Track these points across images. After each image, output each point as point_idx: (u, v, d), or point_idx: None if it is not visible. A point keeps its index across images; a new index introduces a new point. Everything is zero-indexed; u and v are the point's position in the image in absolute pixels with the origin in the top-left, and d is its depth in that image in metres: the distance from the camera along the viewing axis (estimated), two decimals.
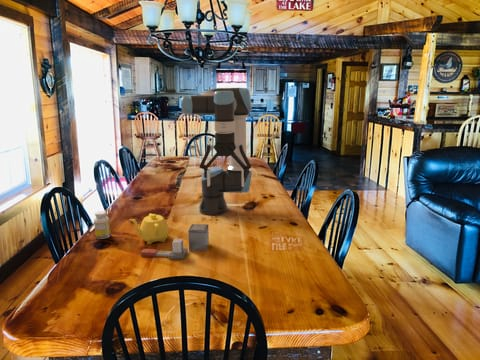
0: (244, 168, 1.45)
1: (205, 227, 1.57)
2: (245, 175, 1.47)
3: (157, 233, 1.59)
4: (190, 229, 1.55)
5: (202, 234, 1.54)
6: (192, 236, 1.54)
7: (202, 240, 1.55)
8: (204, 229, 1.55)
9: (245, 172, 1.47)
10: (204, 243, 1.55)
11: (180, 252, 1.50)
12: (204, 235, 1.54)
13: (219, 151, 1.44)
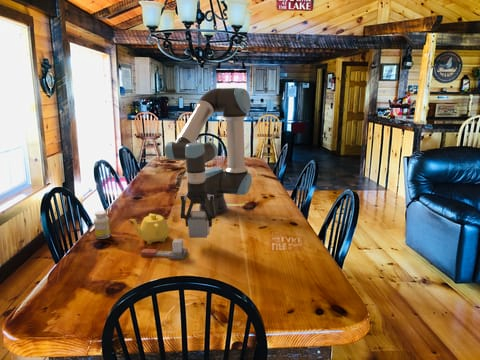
0: (209, 218, 1.55)
1: (205, 214, 1.56)
2: (210, 224, 1.56)
3: (157, 233, 1.59)
4: (190, 216, 1.54)
5: (202, 221, 1.53)
6: (192, 223, 1.54)
7: (202, 227, 1.54)
8: (204, 216, 1.54)
9: (210, 222, 1.56)
10: (204, 230, 1.54)
11: (180, 252, 1.50)
12: (204, 222, 1.53)
13: (192, 200, 1.52)
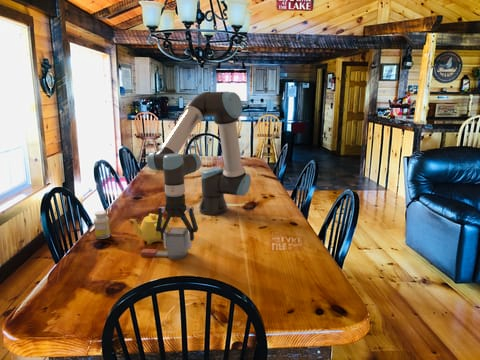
0: (190, 231, 1.48)
1: (184, 230, 1.50)
2: (192, 238, 1.49)
3: (157, 233, 1.59)
4: (168, 233, 1.48)
5: (181, 238, 1.47)
6: (170, 240, 1.47)
7: (181, 244, 1.47)
8: (183, 233, 1.48)
9: (191, 235, 1.49)
10: (183, 247, 1.48)
11: None
12: (183, 239, 1.47)
13: (170, 213, 1.46)
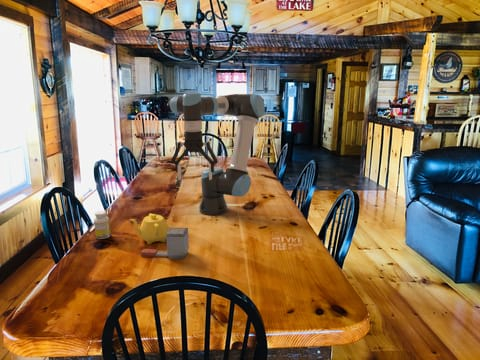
0: (211, 163, 1.61)
1: (184, 230, 1.50)
2: (212, 169, 1.62)
3: (157, 233, 1.59)
4: (168, 233, 1.48)
5: (181, 238, 1.47)
6: (170, 240, 1.47)
7: (181, 244, 1.47)
8: (183, 233, 1.48)
9: (212, 167, 1.62)
10: (183, 247, 1.48)
11: None
12: (183, 239, 1.47)
13: (188, 148, 1.59)
